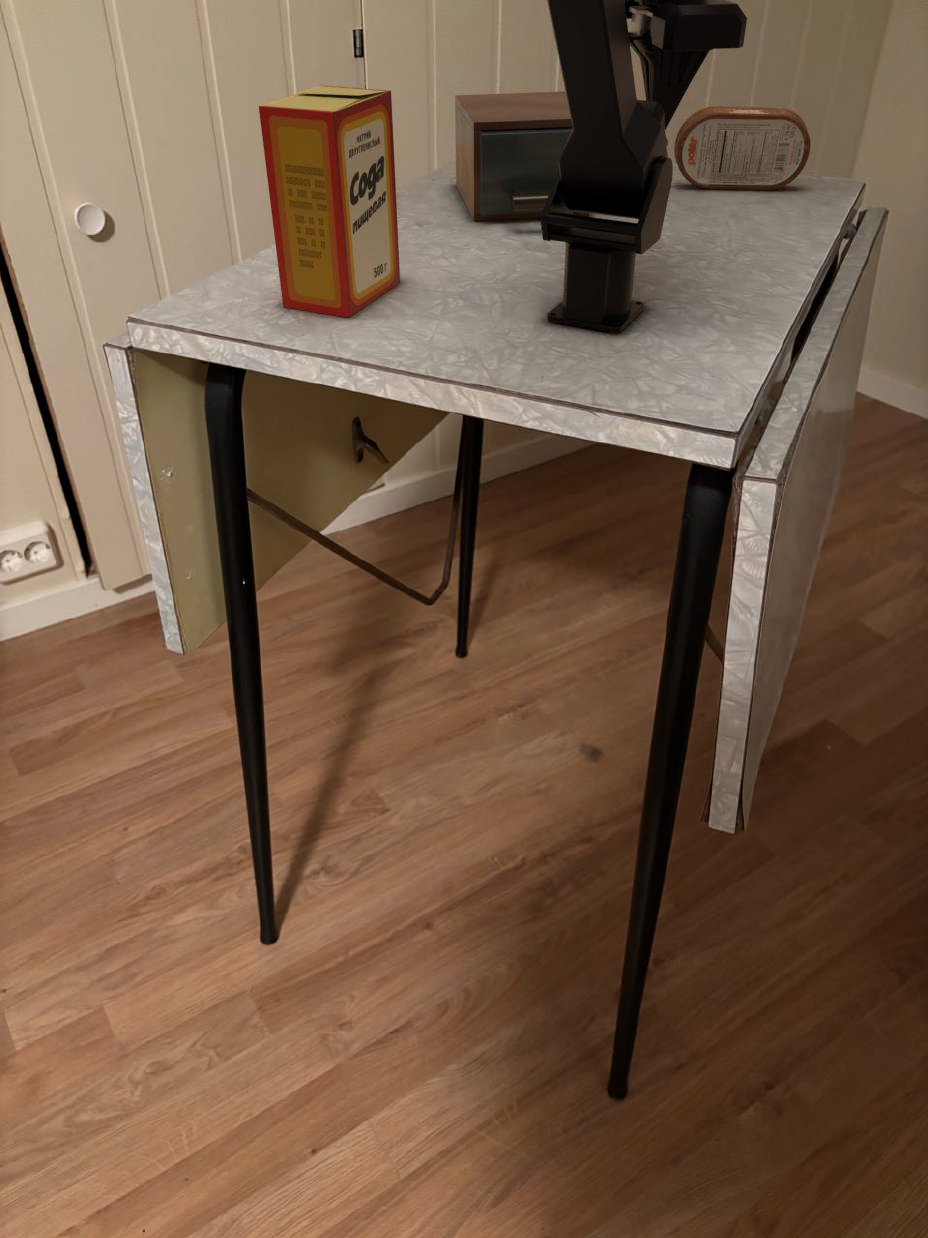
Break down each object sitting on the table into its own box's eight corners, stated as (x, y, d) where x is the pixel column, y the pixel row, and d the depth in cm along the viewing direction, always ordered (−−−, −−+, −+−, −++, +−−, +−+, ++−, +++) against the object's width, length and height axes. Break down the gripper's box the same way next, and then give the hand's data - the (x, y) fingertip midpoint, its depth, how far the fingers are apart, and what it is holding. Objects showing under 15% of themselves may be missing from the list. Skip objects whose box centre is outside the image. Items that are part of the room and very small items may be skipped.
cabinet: (589, 215, 106) (595, 117, 100) (473, 221, 104) (473, 122, 99) (560, 181, 117) (565, 91, 111) (456, 185, 116) (455, 95, 110)
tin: (800, 185, 115) (815, 105, 110) (804, 192, 112) (820, 111, 107) (669, 183, 116) (678, 103, 111) (671, 190, 113) (680, 109, 108)
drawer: (596, 221, 101) (602, 138, 96) (486, 226, 100) (487, 143, 95) (560, 178, 115) (563, 104, 110) (463, 182, 114) (463, 107, 109)
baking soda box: (349, 317, 83) (331, 106, 73) (283, 306, 85) (257, 100, 75) (400, 282, 89) (390, 85, 80) (338, 273, 92) (321, 80, 82)
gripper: (550, -98, 81) (542, 112, 90) (607, -89, 66) (590, 161, 76) (681, -100, 82) (660, 108, 91) (766, -91, 67) (730, 155, 77)
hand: (657, 131), depth 84 cm, fingers closed
